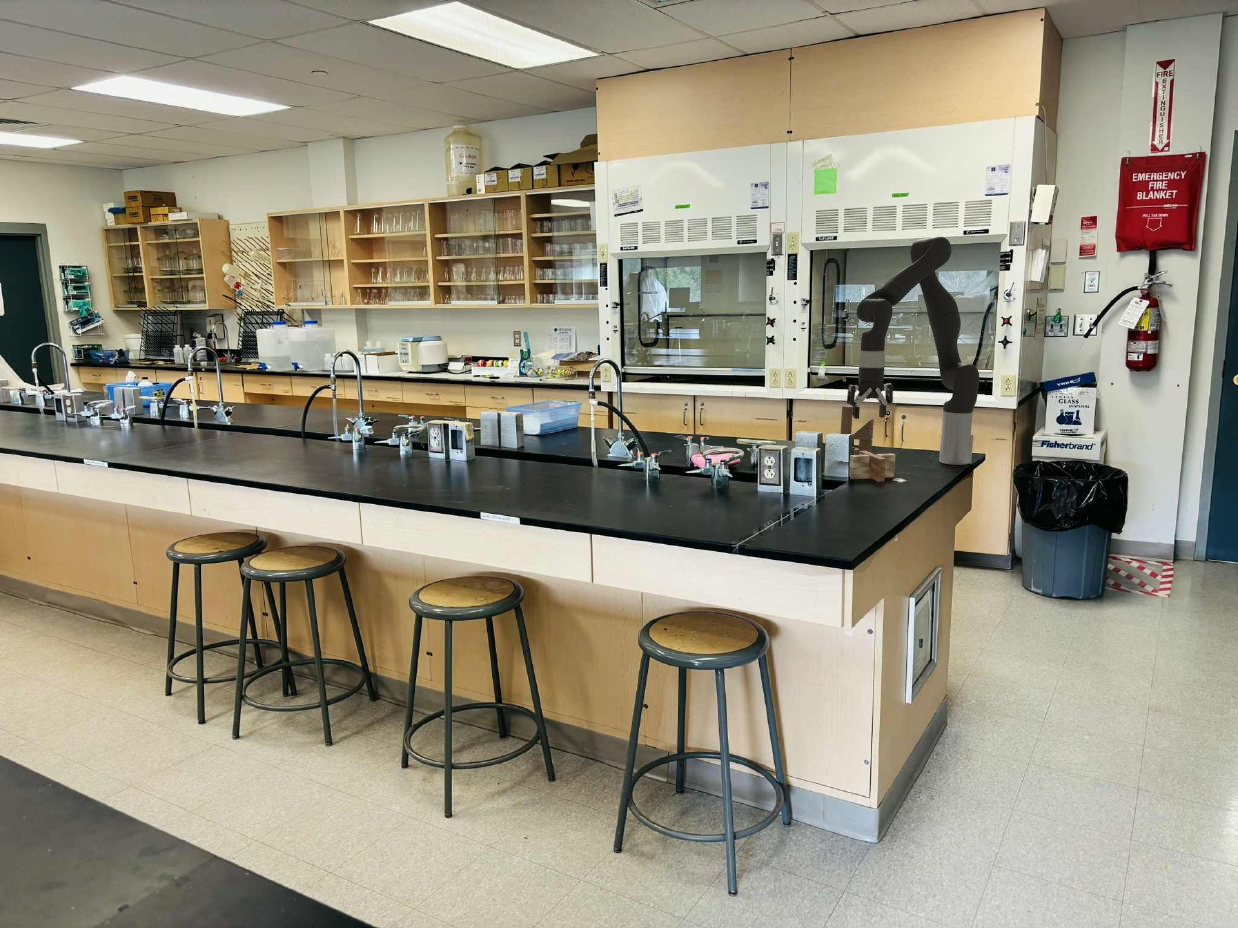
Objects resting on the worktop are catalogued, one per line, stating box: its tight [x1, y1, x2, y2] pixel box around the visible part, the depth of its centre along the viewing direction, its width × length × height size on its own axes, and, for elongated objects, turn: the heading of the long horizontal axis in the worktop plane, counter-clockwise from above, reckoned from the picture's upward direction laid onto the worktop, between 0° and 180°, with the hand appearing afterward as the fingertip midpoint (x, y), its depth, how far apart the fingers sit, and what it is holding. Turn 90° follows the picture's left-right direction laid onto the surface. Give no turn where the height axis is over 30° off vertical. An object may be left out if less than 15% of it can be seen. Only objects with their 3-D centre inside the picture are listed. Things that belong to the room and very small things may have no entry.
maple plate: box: [848, 453, 896, 480], centre depth 266 cm, size 14×2×7 cm, turn 102°
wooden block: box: [840, 404, 875, 455], centre depth 292 cm, size 4×11×18 cm, turn 56°
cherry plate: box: [859, 451, 886, 483], centre depth 266 cm, size 2×13×7 cm, turn 12°
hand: (869, 417), depth 267 cm, fingers open, 8 cm apart
